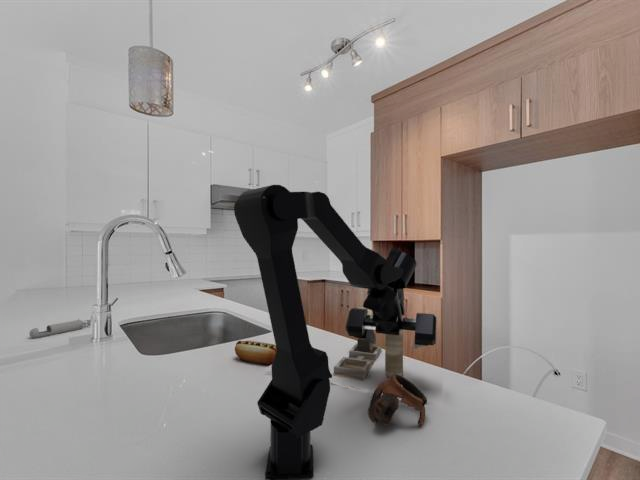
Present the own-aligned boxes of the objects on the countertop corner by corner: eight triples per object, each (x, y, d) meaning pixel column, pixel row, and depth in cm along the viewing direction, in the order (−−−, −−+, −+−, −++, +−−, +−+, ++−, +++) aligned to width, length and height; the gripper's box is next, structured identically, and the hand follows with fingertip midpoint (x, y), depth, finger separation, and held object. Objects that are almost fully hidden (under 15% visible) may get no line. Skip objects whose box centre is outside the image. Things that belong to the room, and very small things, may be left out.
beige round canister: (401, 385, 71) (401, 326, 71) (383, 382, 72) (383, 324, 72) (404, 377, 75) (404, 322, 75) (387, 374, 76) (387, 320, 76)
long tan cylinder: (370, 358, 84) (370, 308, 84) (356, 356, 86) (356, 307, 86) (374, 352, 88) (374, 305, 88) (360, 350, 90) (360, 304, 90)
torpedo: (33, 340, 104) (33, 320, 104) (26, 338, 106) (27, 319, 106) (94, 327, 120) (94, 310, 120) (87, 326, 122) (87, 309, 122)
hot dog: (273, 369, 80) (273, 349, 80) (230, 361, 85) (230, 342, 85) (282, 362, 85) (283, 343, 85) (241, 355, 90) (242, 337, 90)
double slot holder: (362, 385, 70) (362, 373, 71) (332, 380, 73) (332, 368, 73) (382, 355, 90) (382, 345, 90) (357, 351, 93) (357, 342, 93)
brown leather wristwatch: (374, 402, 64) (395, 367, 64) (415, 439, 59) (438, 401, 59) (349, 413, 54) (373, 372, 54) (395, 458, 49) (423, 413, 49)
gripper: (435, 276, 66) (438, 318, 76) (349, 273, 73) (362, 311, 83) (434, 323, 58) (437, 362, 68) (338, 314, 65) (353, 351, 76)
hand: (394, 344), depth 74 cm, fingers open, 9 cm apart
